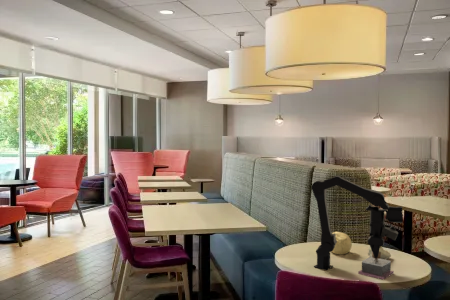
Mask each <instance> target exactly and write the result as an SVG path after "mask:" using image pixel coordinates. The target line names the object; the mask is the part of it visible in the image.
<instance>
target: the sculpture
mask: <svg viewBox="0 0 450 300" xmlns="http://www.w3.org/2000/svg"><path fill="white" fill-rule="evenodd" d="M334 233H335V234H336V241H337V243H336V245H335V247H334V249H333V251H332V252H331V253H333V254H335V255H345V254H347V253H350V252H351V249H352V239H351V238H350V236H349V235H348V234H347V233H345V232H342V231H334V232H332V234H334Z"/></svg>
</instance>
